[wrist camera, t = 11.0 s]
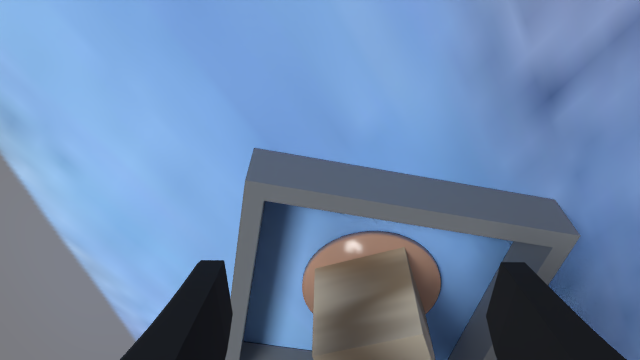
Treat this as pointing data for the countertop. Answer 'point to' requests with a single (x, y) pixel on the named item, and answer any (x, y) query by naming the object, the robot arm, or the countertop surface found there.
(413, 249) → the coaster
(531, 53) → the countertop surface
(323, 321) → the birch block
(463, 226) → the low pen
